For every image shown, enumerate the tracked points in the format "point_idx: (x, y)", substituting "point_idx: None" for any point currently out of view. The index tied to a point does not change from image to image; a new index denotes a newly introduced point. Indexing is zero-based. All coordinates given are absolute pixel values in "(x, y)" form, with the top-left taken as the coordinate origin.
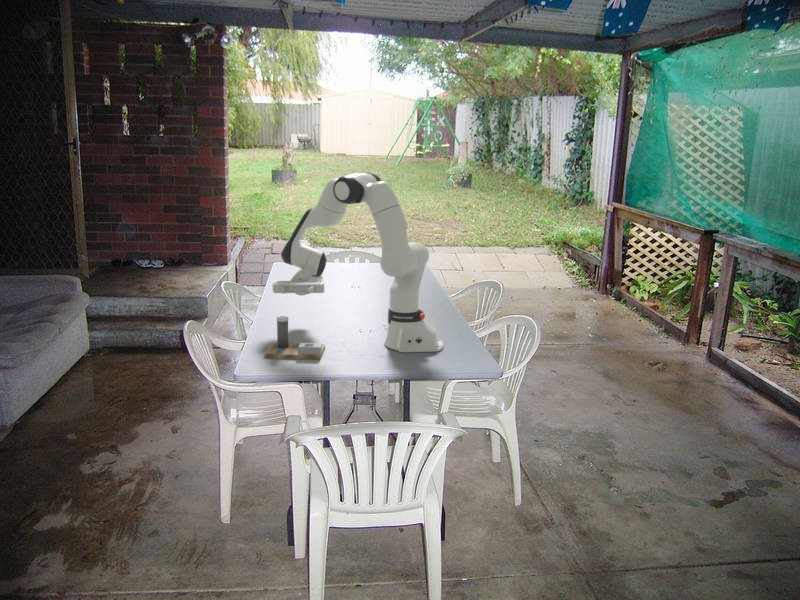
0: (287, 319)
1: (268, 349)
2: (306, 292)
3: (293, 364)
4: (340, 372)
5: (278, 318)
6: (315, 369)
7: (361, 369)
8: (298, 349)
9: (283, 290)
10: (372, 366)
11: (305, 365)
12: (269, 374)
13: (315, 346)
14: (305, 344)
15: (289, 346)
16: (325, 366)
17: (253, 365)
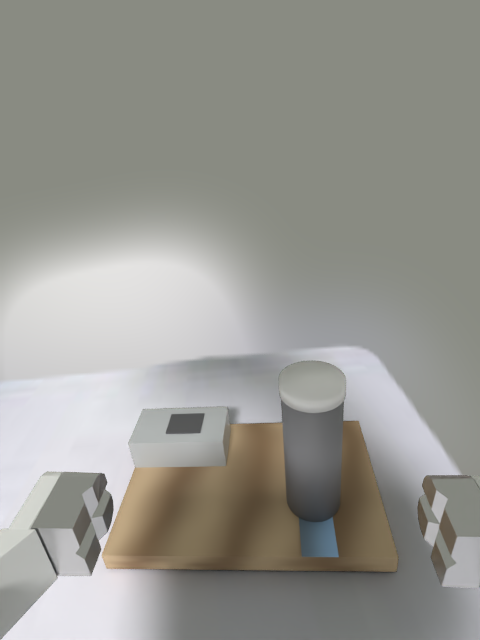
0: (280, 376)
1: (365, 461)
2: (110, 499)
3: (243, 404)
4: (112, 377)
5: (329, 368)
6: (177, 384)
7: (48, 396)
8: (228, 415)
9: (454, 481)
10: (4, 415)
11: (205, 402)
12: (295, 352)
13: (161, 415)
14: (199, 424)
15: (283, 505)
16: (145, 402)
17: (364, 387)
